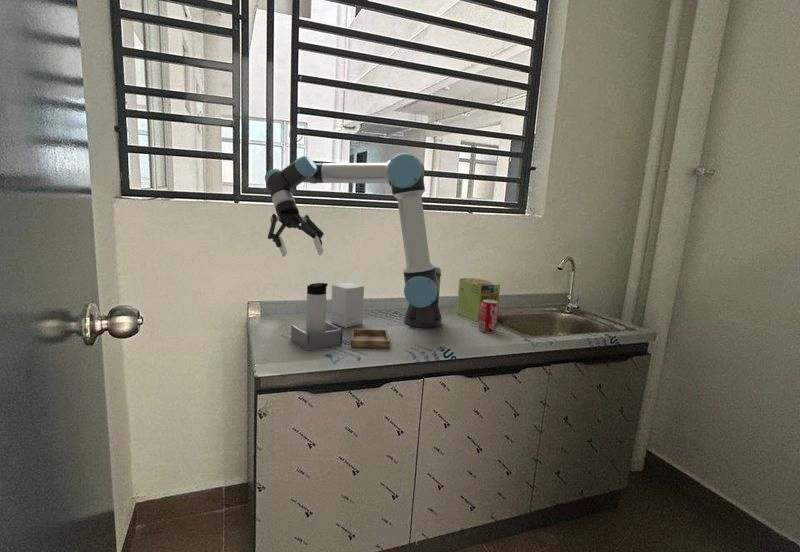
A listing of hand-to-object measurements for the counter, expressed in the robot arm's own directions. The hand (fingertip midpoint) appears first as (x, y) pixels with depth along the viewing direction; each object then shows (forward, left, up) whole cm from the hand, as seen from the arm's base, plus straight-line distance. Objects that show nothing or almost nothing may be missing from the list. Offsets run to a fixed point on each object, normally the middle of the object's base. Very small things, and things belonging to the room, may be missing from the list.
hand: (303, 253), depth 151 cm
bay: (-6, +9, -28) cm, 30 cm away
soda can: (-70, -8, -28) cm, 76 cm away
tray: (-24, +8, -28) cm, 37 cm away
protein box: (-71, -29, -28) cm, 82 cm away
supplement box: (-15, -13, -28) cm, 35 cm away
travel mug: (-6, +9, -28) cm, 30 cm away
